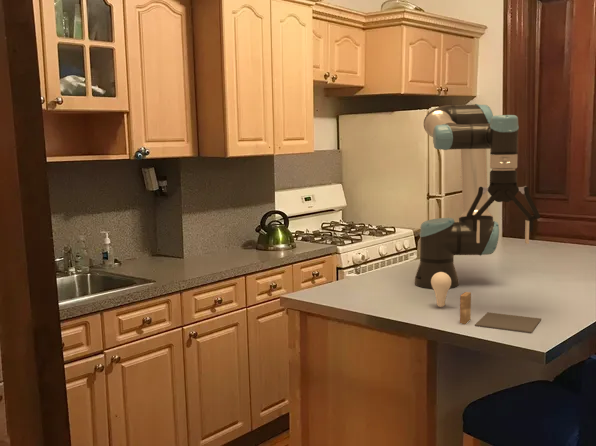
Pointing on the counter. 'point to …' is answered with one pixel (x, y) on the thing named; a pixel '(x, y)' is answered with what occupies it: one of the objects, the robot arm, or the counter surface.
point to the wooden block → (465, 307)
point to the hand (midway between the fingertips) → (502, 242)
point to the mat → (508, 322)
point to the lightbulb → (441, 287)
